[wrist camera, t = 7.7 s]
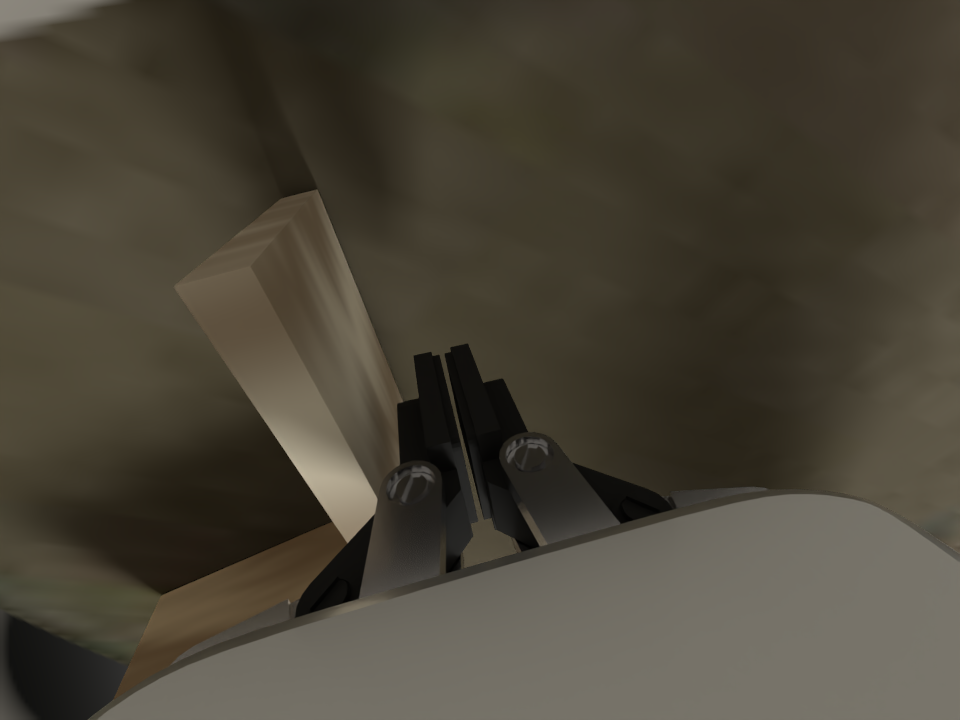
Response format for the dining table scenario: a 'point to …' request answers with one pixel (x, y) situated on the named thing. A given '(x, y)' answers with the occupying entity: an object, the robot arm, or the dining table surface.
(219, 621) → the wooden hinged panel
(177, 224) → the dining table surface
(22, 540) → the dining table surface
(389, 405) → the pale wooden plank
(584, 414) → the dining table surface
